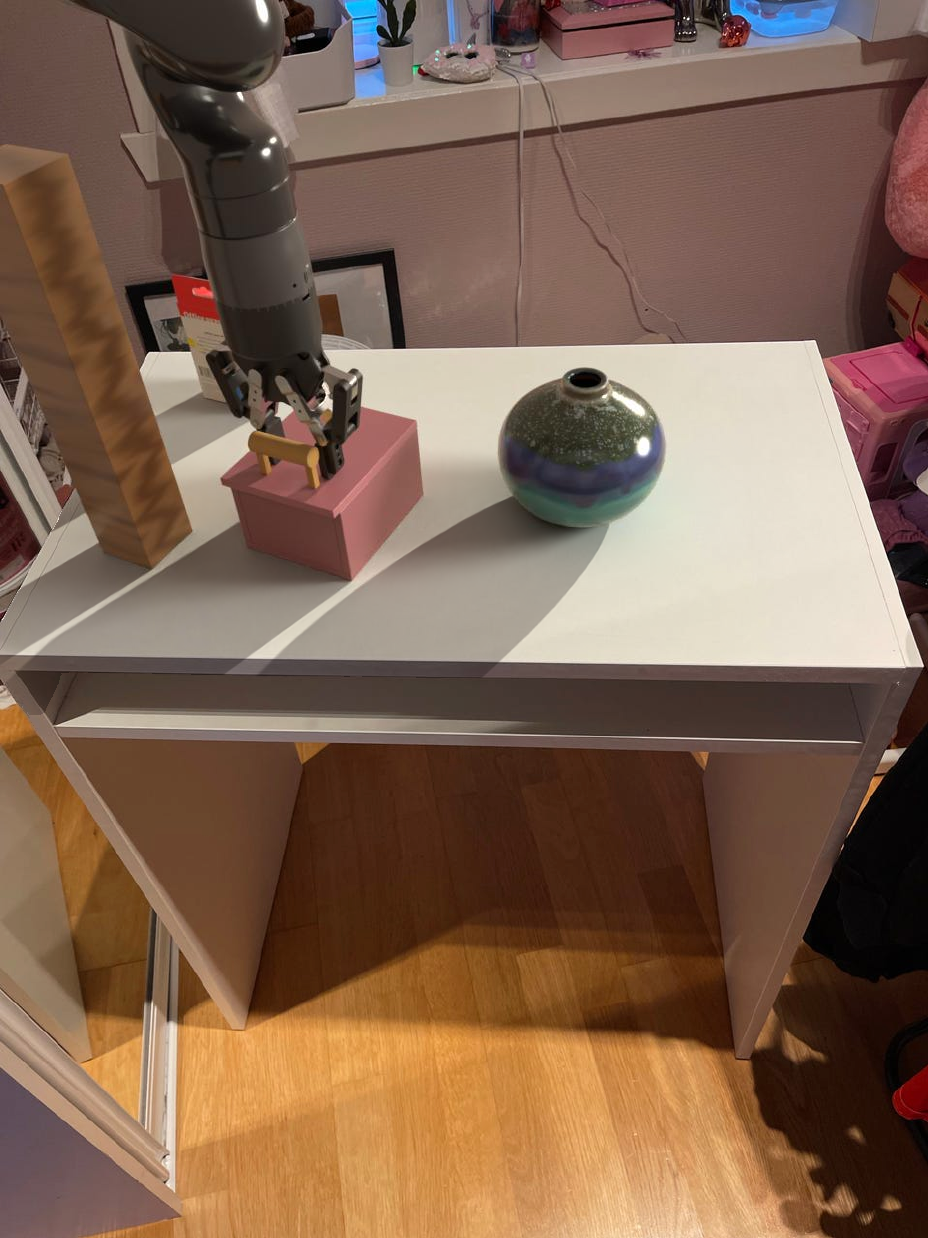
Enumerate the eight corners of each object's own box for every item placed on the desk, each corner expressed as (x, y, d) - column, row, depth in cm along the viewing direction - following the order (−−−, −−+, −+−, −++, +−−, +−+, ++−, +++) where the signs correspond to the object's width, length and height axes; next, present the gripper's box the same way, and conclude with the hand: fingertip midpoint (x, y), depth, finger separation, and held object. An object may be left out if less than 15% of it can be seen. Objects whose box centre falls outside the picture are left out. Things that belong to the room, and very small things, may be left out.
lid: (334, 519, 75) (325, 472, 71) (221, 485, 79) (208, 439, 75) (417, 427, 84) (413, 381, 80) (312, 401, 88) (304, 356, 84)
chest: (352, 581, 81) (340, 512, 75) (246, 546, 85) (228, 479, 79) (423, 495, 89) (417, 427, 84) (324, 467, 93) (312, 401, 88)
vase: (467, 516, 87) (461, 394, 77) (550, 437, 95) (554, 319, 86) (609, 575, 80) (622, 449, 71) (685, 484, 89) (705, 362, 79)
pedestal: (152, 569, 83) (2, 184, 59) (102, 552, 85) (-62, 172, 61) (193, 530, 87) (68, 153, 63) (144, 515, 89) (5, 143, 65)
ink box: (287, 391, 104) (261, 266, 93) (263, 413, 101) (234, 287, 90) (226, 377, 107) (195, 254, 96) (201, 398, 104) (166, 274, 93)
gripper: (153, 287, 67) (213, 471, 79) (315, 320, 62) (353, 512, 74) (215, 244, 71) (263, 425, 84) (371, 271, 66) (397, 460, 79)
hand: (305, 465), depth 79 cm, fingers open, 5 cm apart
